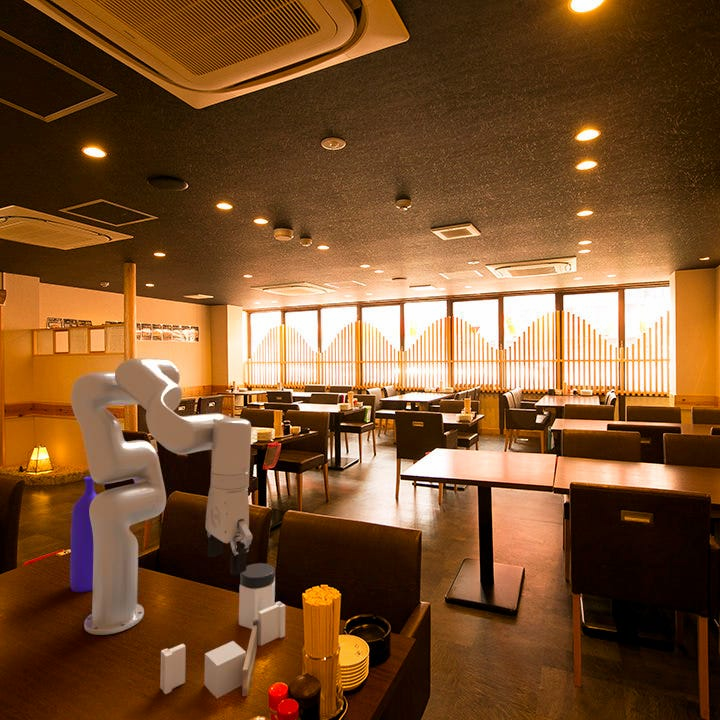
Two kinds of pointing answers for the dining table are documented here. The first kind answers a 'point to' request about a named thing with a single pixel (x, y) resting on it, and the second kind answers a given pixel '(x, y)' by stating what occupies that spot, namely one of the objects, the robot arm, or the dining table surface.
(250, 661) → the gate
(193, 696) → the dining table surface
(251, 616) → the jar
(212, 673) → the block
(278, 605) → the white flat upright blocks
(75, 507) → the bottle
